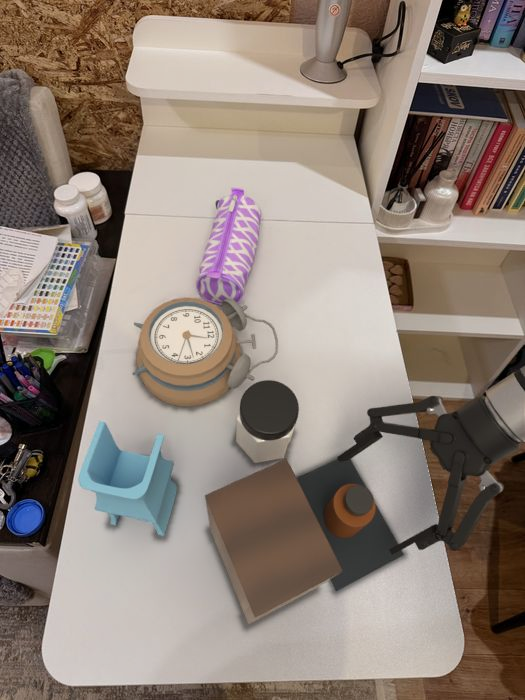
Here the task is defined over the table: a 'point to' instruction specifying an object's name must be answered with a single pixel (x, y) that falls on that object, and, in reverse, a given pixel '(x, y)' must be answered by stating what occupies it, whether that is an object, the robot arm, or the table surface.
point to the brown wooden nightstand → (269, 540)
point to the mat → (367, 544)
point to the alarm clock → (194, 351)
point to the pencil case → (230, 249)
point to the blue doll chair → (129, 480)
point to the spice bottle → (349, 510)
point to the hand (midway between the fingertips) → (367, 502)
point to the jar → (266, 420)
